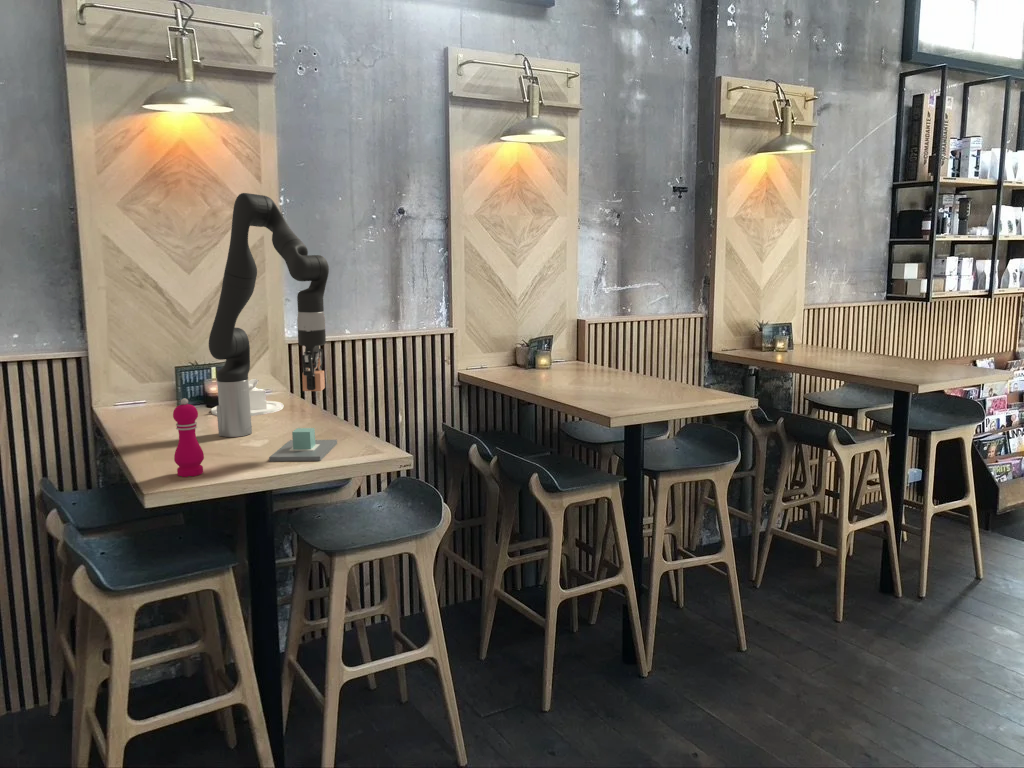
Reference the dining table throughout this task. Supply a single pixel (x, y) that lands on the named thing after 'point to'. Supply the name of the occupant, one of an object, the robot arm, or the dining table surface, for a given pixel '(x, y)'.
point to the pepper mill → (187, 441)
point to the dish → (258, 401)
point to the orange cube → (318, 381)
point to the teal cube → (303, 438)
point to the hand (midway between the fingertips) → (313, 387)
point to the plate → (303, 452)
